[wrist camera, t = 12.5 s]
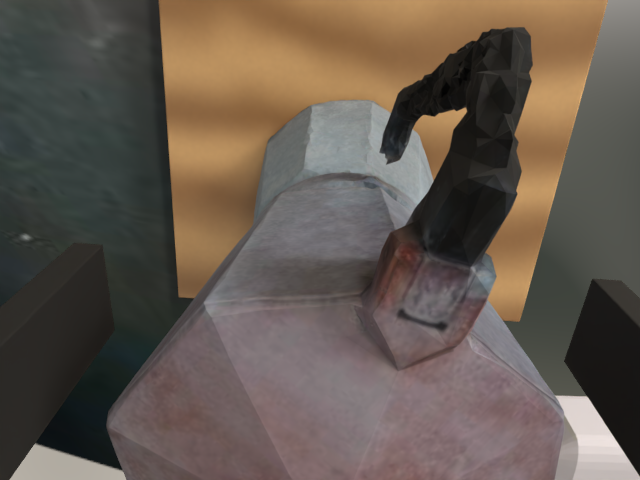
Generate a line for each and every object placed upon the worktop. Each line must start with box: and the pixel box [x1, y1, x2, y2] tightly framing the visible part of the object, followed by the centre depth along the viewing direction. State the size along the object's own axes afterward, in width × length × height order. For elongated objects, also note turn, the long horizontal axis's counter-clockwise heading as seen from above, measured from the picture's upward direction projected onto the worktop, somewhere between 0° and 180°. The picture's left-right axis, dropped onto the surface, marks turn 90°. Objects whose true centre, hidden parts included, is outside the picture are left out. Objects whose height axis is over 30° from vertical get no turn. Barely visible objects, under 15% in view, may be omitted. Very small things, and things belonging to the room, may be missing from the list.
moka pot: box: [106, 27, 564, 480], centre depth 16 cm, size 10×15×20 cm, turn 167°
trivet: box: [159, 0, 608, 322], centre depth 25 cm, size 20×20×1 cm
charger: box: [555, 396, 640, 480], centre depth 31 cm, size 5×9×15 cm
